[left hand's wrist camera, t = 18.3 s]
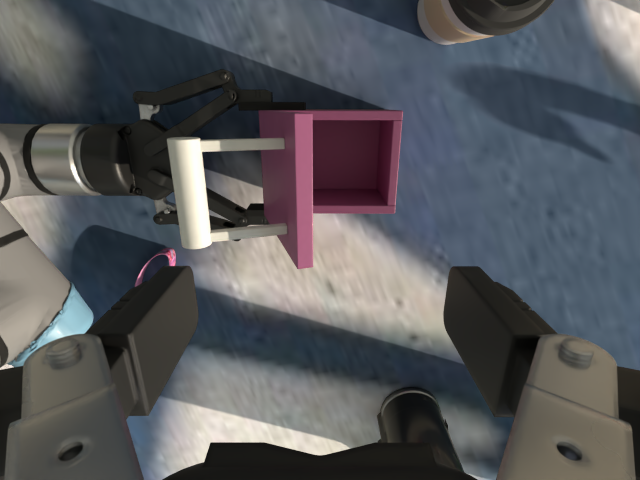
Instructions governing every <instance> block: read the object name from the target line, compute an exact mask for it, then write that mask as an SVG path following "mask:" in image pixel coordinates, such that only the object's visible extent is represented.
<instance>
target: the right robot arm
mask: <svg viewBox="0 0 640 480" xmlns="http://www.w3.org/2000/svg"><path fill="white" fill-rule="evenodd" d="M221 87H222V88H223V90H224V93H223V94H222V95H220V96H219V97H217V98H216V99H214V100H213V101H212V102H210V103H209V104H207V105H206V106H204V107H203V108H201V109H200V110H198V111H197V112H195V113H194V114H192V115H191V116H190V117H188V118H187V119H185V120H184V121H182V122H181V123H179V124H178V125H175V126H174V127H172V128H170V129H169V130H168V129H167V128H166V127H164V126H163V125H161V124H160V123H158V122H157V121H155V120H154V116H155V115H156V114H157V113H161V112H162V111H163V105H170V104H174V103H177V102H180V101H183V100H186V99H189V98H192V97H195V96H198V95H201V94H204V93H207V92H209V91H212V90H215V89H218V88H221ZM133 100H134V101H135V102H136V103H137V104H139V110H140V119H141V120H139V121H137V122H136V123H133V124H94V125H90V124H41V125H36V124H0V201H4V200H7V199H10V198H14V197H19V196H32V195H77V196H98V195H101V194H102V195H106V196H146V197H149V198H150V199H153V200H154V203H155V208H156V212H157V214H156V215H155V216H154V217H153V220H154V222H155V223H156V224H160V225H161V224H177V225H179V221H178V214H177V207H176V204H174V203H170V202H168V201H167V199H166V197H167V196H168V195H169V194H170V193H172V192H174V186H173V179H172V172H171V165H170V158H169V151H168V144H167V139H168V138H174V137H190V136H191V135H192V134H193V133H195V132H196V131H198V130H199V129H201V128H202V127H203V126H205V125H206V124H208V123H209V122H211V121H212V120H214V119H215V118H217V117H218V116H220V115H221V114H223V113H224V112H226V111H227V110H229V109H230V108H232V107H233V106H235V105H236V104H238V105H239V110H306V103H305V102H273V96H272V92H270V91H268V90H241V89H240V88H239V87H238V86H237V84H236V81H235V77H234V75H233V73H231V72H229V71H227V70H224V69H221V70H218V71H215V72H212V73H209V74H206V75H204V76H201V77H198V78H195V79H192V80H189V81H186V82H183V83H180V84H178V85H175V86H172V87H169V88H166V89H163V90H160V91H157V92H143V91H137V92H135V93H134V94H133ZM206 194H207V203H208V209H210V210H212V211H214V212H215V213H217V214H219V215H221V216H223V217H225V218H226V219H228V220H230V221H228V220H224V219H221V218H217V217H214V216H210V215H209V220H210V229H211V230H217V229H227V228H238V227H247V226H248V225H270V223H269V222H268V220H267V219H266V217H265V215H264V204H250V205H249V207H248V208H247V210H246V209H244V208H243V207H241V206H239V205H237V204H235V203H234V202H232V201H230V200H228V199H226V198H225V197H223V196H221V195H219V194H217V193H216V192H214V191H212V190H210V189H208V188H207V187H206ZM231 221H232V222H231ZM240 240H241V239H235V240H234V241H240ZM92 322H93V313H92V311H91V309H90V308H89V307H88V305H87V304H86V303H85V301H84V300H83V299H82V297H81V296H80V294H79V293H78V292H77V290H76V289H75V286H74V285H73V283H72V282H70V281H68V280H67V279H66V278H65V277H64V276H63V274H62V273H61V272H60V271H59V270H58V269H57V268H56V267H55V265H54V264H53V263H52V262H51V261H50V260H49V259H48V258H47V257H46V255H45V254H44V253H43V252H42V251H41V250H40V249H39V248H38V247H37V245H36V244H35V243H34V242H33V241H32V240H31V239H30V238H29V235H28V234H27V233H26V232H25V231H24V229H23V228H22V227H21V226H20V224H19V223H18V222H17V221H16V220H15V219H14V217H13V216H12V215H11V214H10V213H9V211H8V210H7V209H6V208H5V207H4V206H3V204H2V203H1V202H0V367H2V366H4V365H5V364H8V365H12V366H13V367H19V366H23V365H24V362H25V360H26V359H27V358H28V356H29V355H30V354H31V353H33V352H34V351H35V350H37V349H38V348H40V347H41V346H43V345H45V344H47V343H49V342H51V341H54V340H56V339H59V338H62V337H65V336H69V335H75V334H85V333H86V331H87V330H88V329H89V328H90V326H91V324H92Z"/></svg>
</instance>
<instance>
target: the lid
mask: <svg viewBox="0 0 640 480" xmlns="http://www.w3.org/2000/svg"><path fill="white" fill-rule="evenodd" d="M259 126H260V138H256V139H215V140H200V138H198V137H174V138H168V139H167V144H168V151H169V158H170V165H171V172H172V179H173V186H174V193H175V200H176V207H177V214H178V221H179V228H180V235H181V241H182V246H183V247H184V248H187V249H200V248H204V247H207V246H209V245H210V244H211V243H212V242H216V241H226V240H235V239H245V238H254V237H264V236H274V235H277V236H278V238H279V240H280V241H281V243H282V244H283V246H284V248H285V249H286V251H287V253H288V254H289V256H290V257H291V259H292V261H293V262H294V264H295V265H296V267H297V269H302V268H309V267H313V128H312V113H301V112H287V111H272V110H259ZM243 150H261V163H262V181H263V199H264V215H265V217H266V219H267V220H268V222H269V223H270V225H259V226H249V227H238V228H227V229H217V230H211V229H210V220H209V211H208V203H207V194H206V185H205V176H204V167H203V158H202V152H213V151H243Z"/></svg>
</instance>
